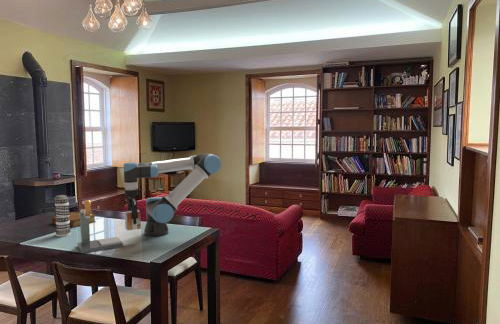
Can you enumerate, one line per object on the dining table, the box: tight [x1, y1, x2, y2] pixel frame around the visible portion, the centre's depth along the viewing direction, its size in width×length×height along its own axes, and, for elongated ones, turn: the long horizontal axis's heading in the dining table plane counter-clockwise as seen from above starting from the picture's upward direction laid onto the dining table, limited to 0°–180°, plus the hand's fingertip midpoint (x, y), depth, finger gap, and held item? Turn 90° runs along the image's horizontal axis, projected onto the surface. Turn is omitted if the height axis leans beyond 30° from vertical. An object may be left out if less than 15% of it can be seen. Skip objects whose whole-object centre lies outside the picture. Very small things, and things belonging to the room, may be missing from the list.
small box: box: [124, 209, 142, 231], centre depth 229 cm, size 8×6×10 cm
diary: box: [51, 211, 96, 229], centre depth 278 cm, size 23×19×6 cm
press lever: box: [79, 199, 92, 218], centre depth 215 cm, size 18×4×10 cm, turn 31°
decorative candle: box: [53, 194, 72, 237], centre depth 247 cm, size 9×9×25 cm
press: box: [76, 213, 124, 254], centre depth 222 cm, size 22×15×19 cm
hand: (133, 228), depth 230 cm, fingers closed on small box, 6 cm apart
